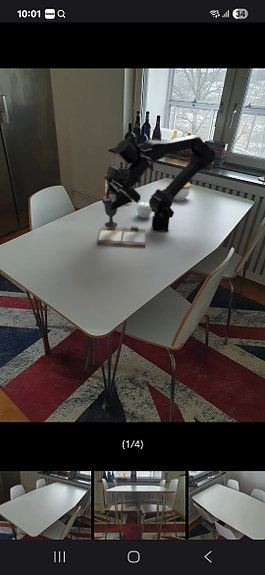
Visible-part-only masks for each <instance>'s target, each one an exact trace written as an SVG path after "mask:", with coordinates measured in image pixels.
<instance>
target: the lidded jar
mask: <svg viewBox="0 0 265 575" xmlns="http://www.w3.org/2000/svg"><path fill="white" fill-rule="evenodd" d="M171 182H172V181H170V182H169V184H170V183H171ZM191 186H192V185H191V183H190V182H188V183H187V184H186V185H185V186H184V187H183V188H182V189H181V190H180V192H179V193H178V194H177V195H176V196H175V197H174V199H173V201H174V200H175V201H185V199H186V198H187V197H188V196H189V194H190V190H191Z"/></svg>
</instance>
